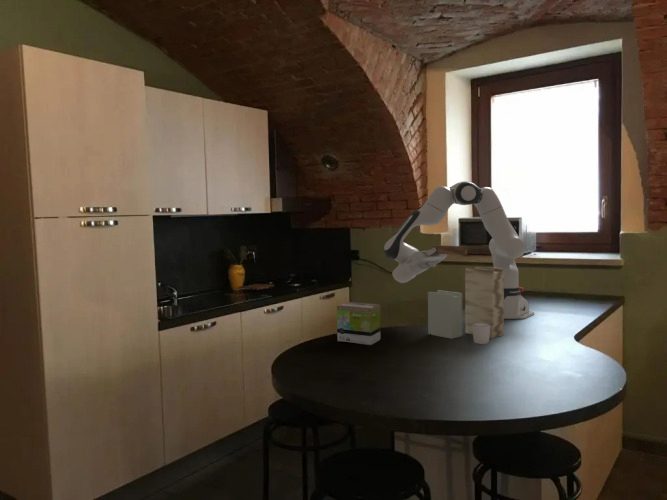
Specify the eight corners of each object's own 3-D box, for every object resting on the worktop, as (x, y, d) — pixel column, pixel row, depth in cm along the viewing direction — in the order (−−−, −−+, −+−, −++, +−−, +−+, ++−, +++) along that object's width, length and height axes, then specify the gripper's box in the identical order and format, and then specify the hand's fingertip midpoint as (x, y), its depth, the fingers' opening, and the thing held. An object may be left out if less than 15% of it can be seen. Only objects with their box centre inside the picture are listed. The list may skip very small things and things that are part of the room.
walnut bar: (433, 252, 242) (433, 245, 242) (467, 254, 228) (467, 246, 228) (428, 253, 240) (428, 245, 240) (462, 255, 226) (462, 246, 226)
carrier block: (439, 331, 228) (438, 290, 227) (462, 335, 219) (462, 292, 218) (428, 334, 224) (427, 291, 222) (451, 338, 214) (451, 294, 213)
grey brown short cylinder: (488, 340, 211) (488, 322, 210) (492, 344, 204) (492, 326, 204) (470, 340, 211) (470, 322, 211) (473, 344, 205) (473, 326, 204)
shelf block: (477, 330, 229) (476, 266, 228) (503, 334, 219) (503, 268, 218) (465, 332, 224) (465, 268, 222) (492, 337, 214) (492, 270, 212)
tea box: (336, 342, 213) (335, 305, 212) (347, 336, 222) (347, 301, 221) (371, 345, 206) (370, 307, 205) (381, 340, 215) (380, 303, 214)
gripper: (401, 258, 241) (421, 243, 232) (430, 255, 254) (451, 241, 245) (406, 270, 239) (427, 256, 229) (436, 267, 252) (456, 253, 243)
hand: (439, 248), depth 237 cm, fingers closed on walnut bar, 3 cm apart
